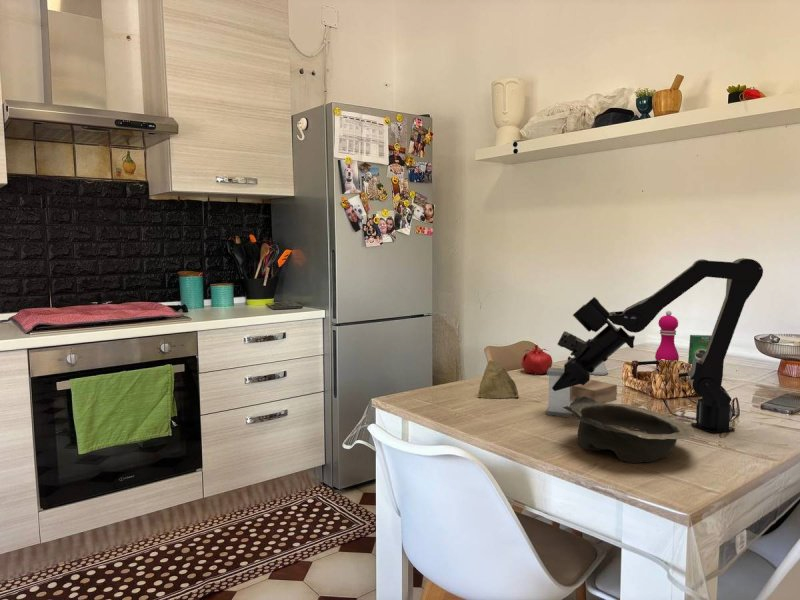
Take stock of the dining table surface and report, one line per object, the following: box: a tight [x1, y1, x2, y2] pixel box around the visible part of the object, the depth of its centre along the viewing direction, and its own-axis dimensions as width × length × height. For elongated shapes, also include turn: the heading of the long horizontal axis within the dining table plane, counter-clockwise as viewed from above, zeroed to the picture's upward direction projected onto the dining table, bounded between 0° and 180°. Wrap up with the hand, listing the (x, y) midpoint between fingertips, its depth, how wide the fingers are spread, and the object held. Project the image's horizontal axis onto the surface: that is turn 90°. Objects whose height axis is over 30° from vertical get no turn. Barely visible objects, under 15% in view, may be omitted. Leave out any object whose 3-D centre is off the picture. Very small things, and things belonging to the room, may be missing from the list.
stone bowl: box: [563, 396, 695, 464], centre depth 122 cm, size 25×25×9 cm
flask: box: [590, 361, 609, 376], centre depth 194 cm, size 7×7×10 cm
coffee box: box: [687, 334, 712, 364], centre depth 190 cm, size 8×3×13 cm, turn 90°
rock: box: [477, 360, 520, 399], centre depth 164 cm, size 11×9×10 cm
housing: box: [545, 366, 573, 418], centre depth 148 cm, size 6×5×11 cm
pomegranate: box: [521, 344, 553, 375], centre depth 195 cm, size 10×10×9 cm
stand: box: [571, 379, 618, 404], centre depth 162 cm, size 10×10×4 cm
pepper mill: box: [654, 310, 680, 361], centre depth 198 cm, size 7×7×20 cm
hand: (554, 387), depth 148 cm, fingers closed on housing, 5 cm apart
